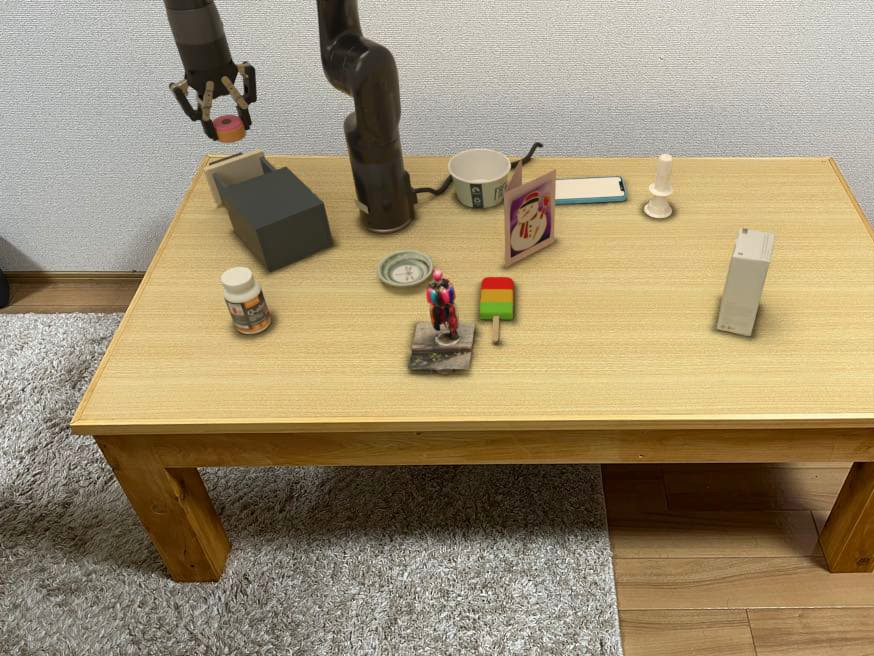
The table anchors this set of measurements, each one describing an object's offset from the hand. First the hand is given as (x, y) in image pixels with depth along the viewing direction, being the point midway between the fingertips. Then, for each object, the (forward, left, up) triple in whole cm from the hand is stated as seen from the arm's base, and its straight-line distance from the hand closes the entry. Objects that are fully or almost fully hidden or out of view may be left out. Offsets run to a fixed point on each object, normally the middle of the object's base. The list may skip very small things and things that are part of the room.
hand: (230, 133), depth 131 cm
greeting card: (-34, +37, -18) cm, 53 cm away
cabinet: (-1, +9, -17) cm, 20 cm away
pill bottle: (+13, +27, -18) cm, 35 cm away
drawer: (-1, -4, -17) cm, 17 cm away
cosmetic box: (-51, +74, -18) cm, 92 cm away
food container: (-38, +19, -18) cm, 46 cm away
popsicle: (-20, +49, -18) cm, 56 cm away
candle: (-62, +44, -18) cm, 78 cm away
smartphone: (-55, +31, -18) cm, 66 cm away
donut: (0, 0, 0) cm, 0 cm away
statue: (-8, +51, -18) cm, 54 cm away
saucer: (-13, +32, -18) cm, 39 cm away
